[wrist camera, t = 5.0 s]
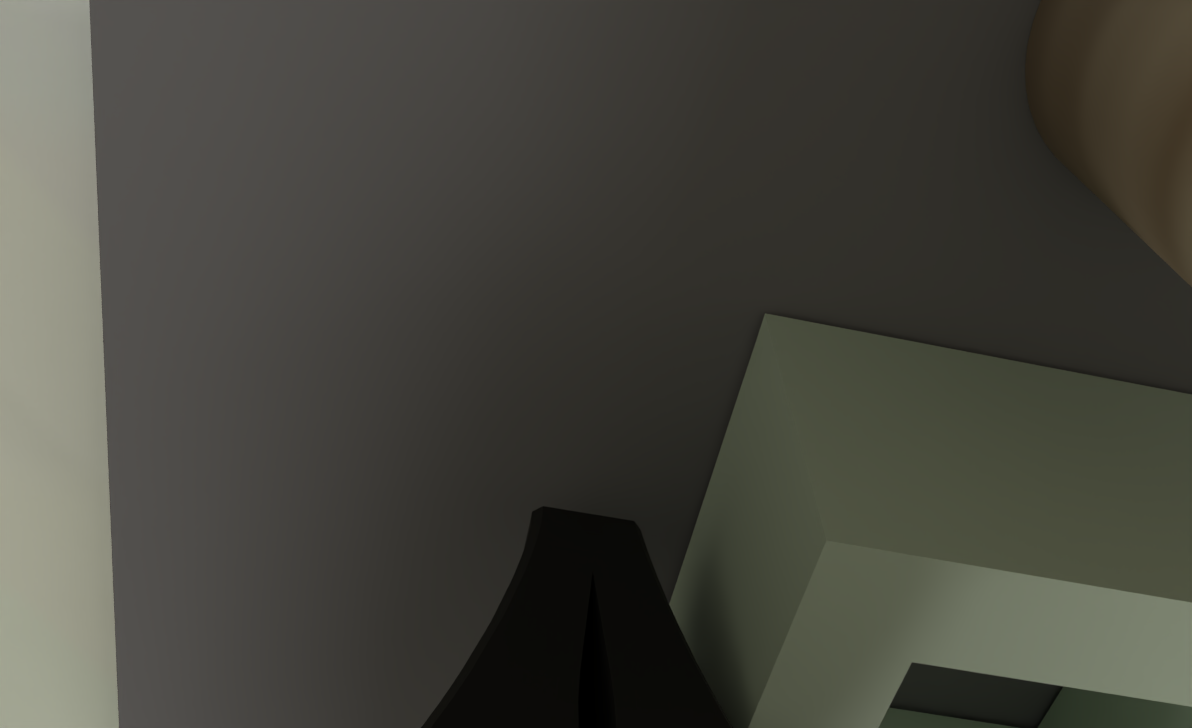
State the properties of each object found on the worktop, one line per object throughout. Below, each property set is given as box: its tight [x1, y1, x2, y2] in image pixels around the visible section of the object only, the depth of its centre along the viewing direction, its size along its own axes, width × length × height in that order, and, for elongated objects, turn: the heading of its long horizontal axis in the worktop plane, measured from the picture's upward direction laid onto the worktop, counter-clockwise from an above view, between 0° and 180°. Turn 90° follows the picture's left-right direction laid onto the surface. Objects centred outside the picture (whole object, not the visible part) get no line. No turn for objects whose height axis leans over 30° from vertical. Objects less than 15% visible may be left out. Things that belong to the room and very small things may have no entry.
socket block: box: [669, 313, 1192, 728], centre depth 13 cm, size 7×7×4 cm
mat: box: [90, 0, 1192, 728], centre depth 14 cm, size 19×24×1 cm
